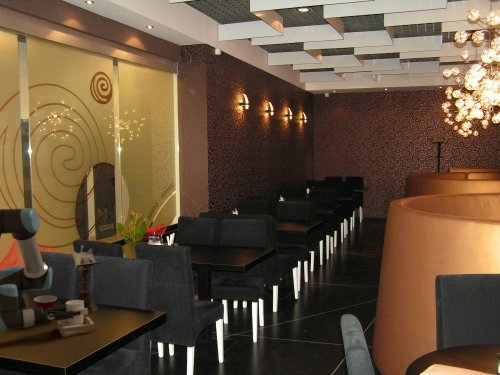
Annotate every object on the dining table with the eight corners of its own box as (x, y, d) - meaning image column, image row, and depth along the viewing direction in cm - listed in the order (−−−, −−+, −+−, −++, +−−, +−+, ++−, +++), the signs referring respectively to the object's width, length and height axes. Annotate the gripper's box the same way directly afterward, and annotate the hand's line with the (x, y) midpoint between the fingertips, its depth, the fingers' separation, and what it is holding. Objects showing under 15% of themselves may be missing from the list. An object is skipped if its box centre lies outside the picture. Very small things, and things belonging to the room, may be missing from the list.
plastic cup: (50, 325, 255) (49, 301, 254) (30, 324, 257) (28, 300, 256) (62, 318, 265) (61, 295, 265) (43, 318, 267) (42, 294, 267)
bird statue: (105, 313, 272) (102, 245, 270) (78, 318, 266) (75, 248, 264) (97, 306, 287) (94, 241, 285) (72, 310, 281) (69, 243, 278)
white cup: (67, 327, 242) (66, 305, 241) (65, 322, 249) (65, 301, 249) (85, 324, 245) (84, 303, 244) (83, 319, 252) (82, 299, 252)
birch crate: (57, 328, 250) (57, 321, 250) (88, 323, 257) (87, 316, 257) (62, 337, 238) (62, 329, 238) (94, 331, 245) (94, 324, 244)
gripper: (31, 319, 247) (81, 311, 258) (36, 331, 229) (90, 322, 240) (30, 303, 247) (81, 296, 258) (35, 314, 229) (90, 306, 240)
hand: (85, 308), depth 249 cm, fingers closed on white cup, 8 cm apart
